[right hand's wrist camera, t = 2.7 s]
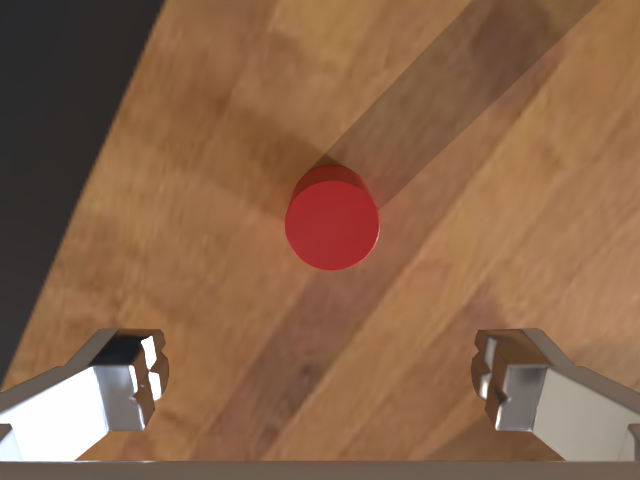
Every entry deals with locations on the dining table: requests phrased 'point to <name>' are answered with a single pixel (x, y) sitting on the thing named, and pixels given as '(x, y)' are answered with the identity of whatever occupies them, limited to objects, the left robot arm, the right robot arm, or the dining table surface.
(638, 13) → the dining table surface
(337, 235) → the can
